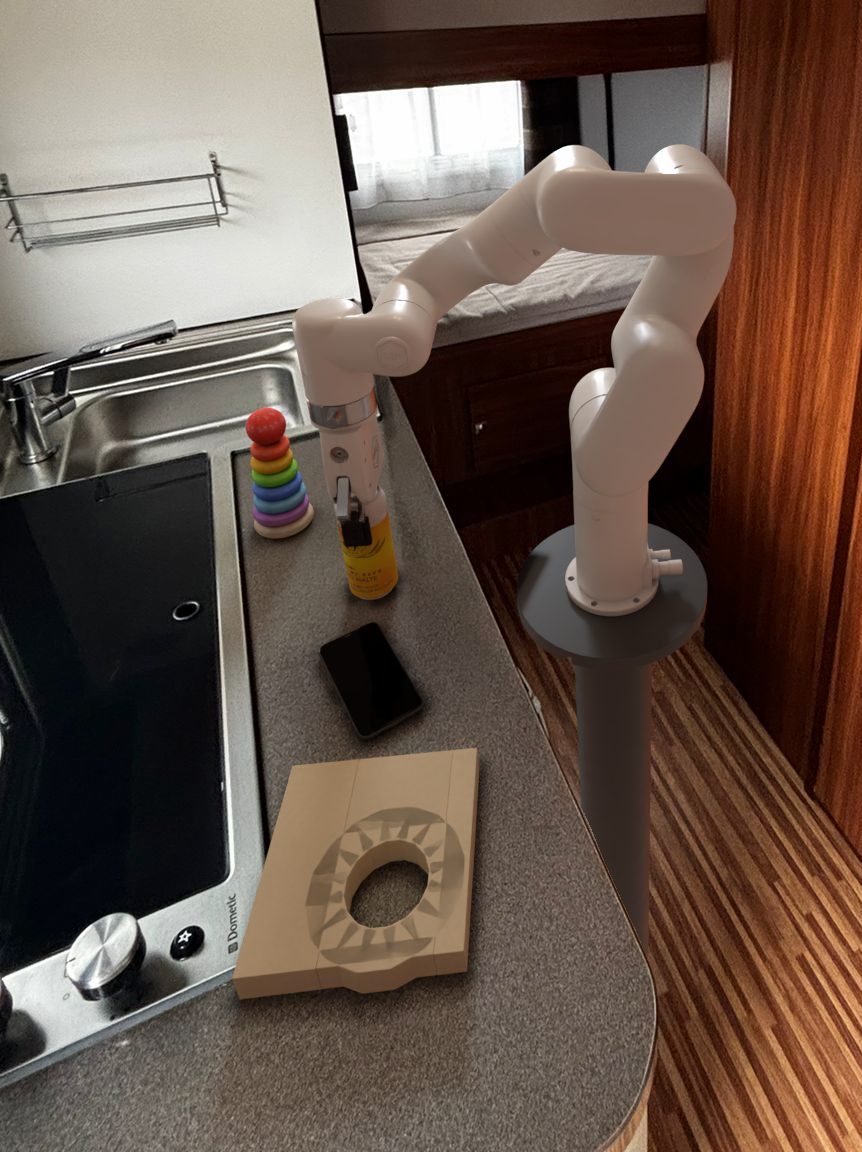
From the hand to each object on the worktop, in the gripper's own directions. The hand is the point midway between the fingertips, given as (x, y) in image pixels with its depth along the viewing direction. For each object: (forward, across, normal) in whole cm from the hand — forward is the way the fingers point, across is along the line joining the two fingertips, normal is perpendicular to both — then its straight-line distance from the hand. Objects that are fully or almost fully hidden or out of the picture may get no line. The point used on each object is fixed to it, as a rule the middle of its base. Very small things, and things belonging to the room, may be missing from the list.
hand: (364, 524), depth 102 cm
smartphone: (+10, -15, -2) cm, 18 cm away
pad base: (+10, -36, -6) cm, 38 cm away
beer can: (+10, 0, 0) cm, 10 cm away
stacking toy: (+10, +14, +15) cm, 23 cm away
